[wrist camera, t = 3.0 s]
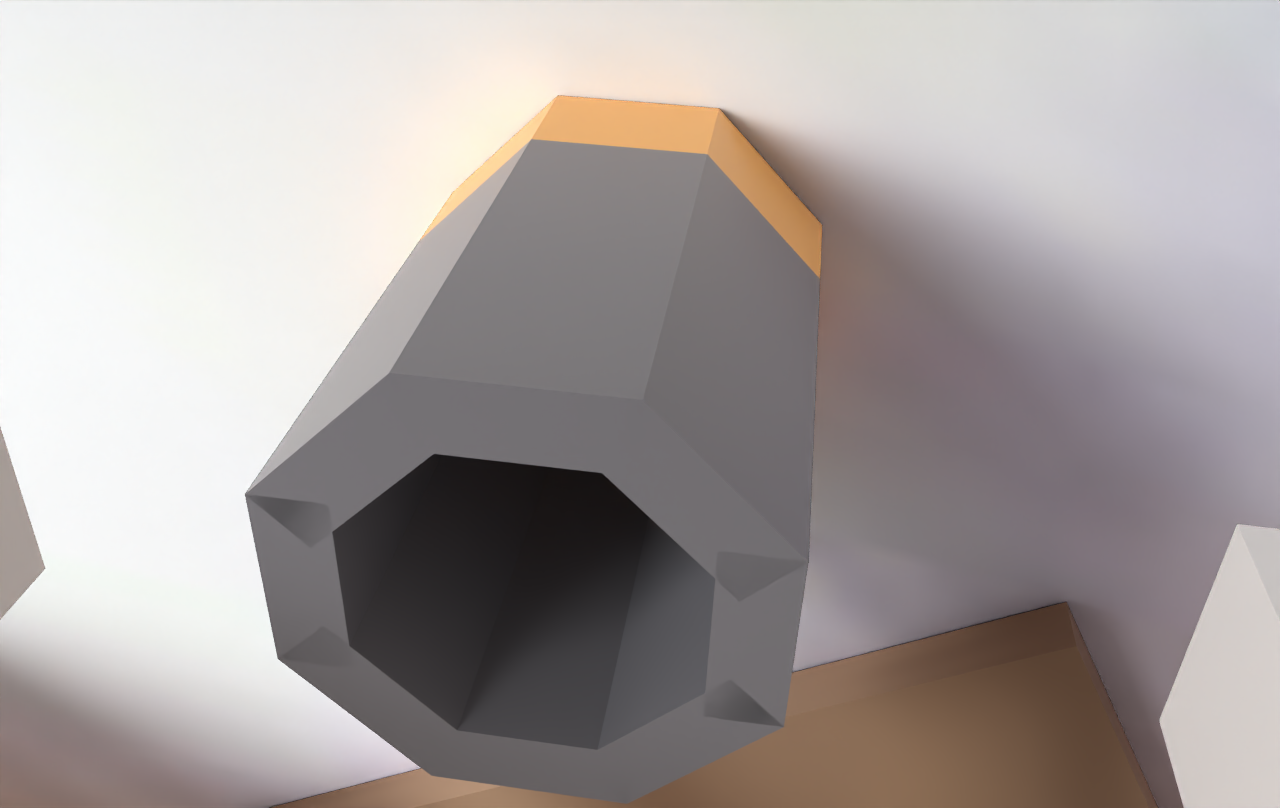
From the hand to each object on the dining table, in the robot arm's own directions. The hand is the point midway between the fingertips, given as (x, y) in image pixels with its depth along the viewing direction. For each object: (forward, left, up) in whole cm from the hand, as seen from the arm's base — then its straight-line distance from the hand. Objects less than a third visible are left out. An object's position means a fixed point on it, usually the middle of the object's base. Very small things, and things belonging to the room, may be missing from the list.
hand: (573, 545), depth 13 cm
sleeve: (0, 0, -6) cm, 6 cm away
